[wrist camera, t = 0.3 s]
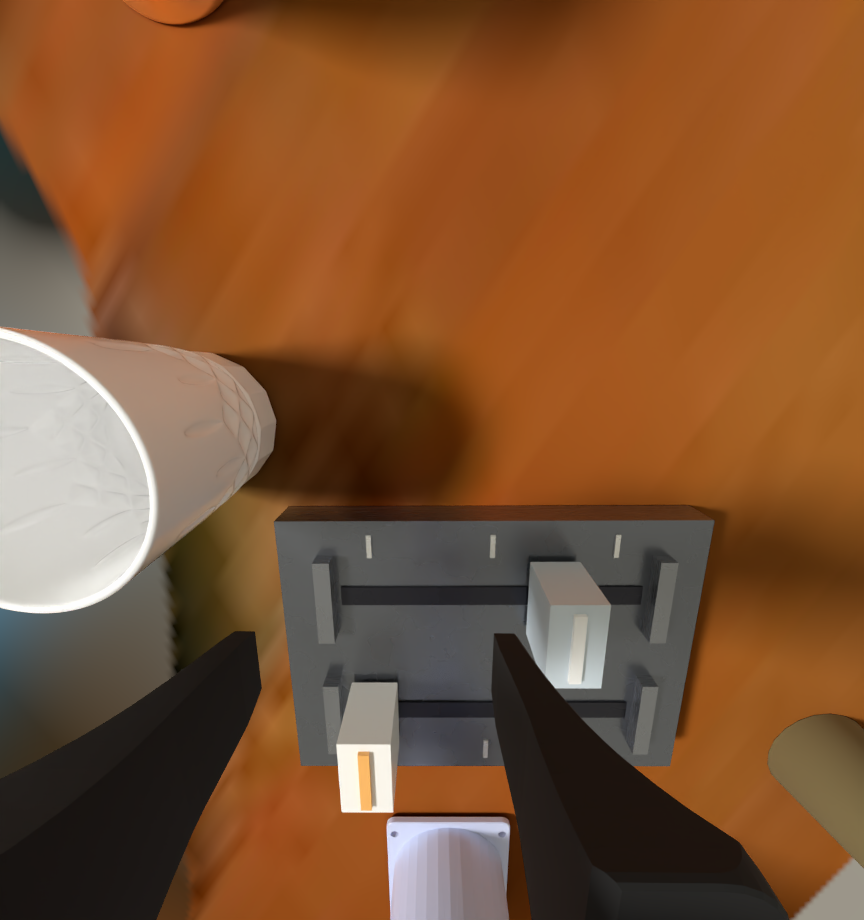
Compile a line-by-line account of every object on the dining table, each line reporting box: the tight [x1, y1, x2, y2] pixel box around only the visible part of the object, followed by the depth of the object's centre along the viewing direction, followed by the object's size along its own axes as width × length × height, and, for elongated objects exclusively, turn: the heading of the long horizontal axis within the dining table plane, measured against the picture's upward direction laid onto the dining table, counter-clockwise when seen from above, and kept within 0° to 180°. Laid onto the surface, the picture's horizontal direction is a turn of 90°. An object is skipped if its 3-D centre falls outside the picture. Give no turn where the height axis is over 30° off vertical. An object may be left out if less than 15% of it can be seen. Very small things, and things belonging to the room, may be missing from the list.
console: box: [274, 505, 715, 766], centre depth 22 cm, size 15×21×3 cm
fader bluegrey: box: [526, 562, 611, 688], centre depth 18 cm, size 4×2×4 cm, turn 0°
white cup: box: [0, 327, 276, 613], centre depth 15 cm, size 8×8×10 cm
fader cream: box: [336, 683, 399, 812], centre depth 20 cm, size 4×2×4 cm, turn 0°
